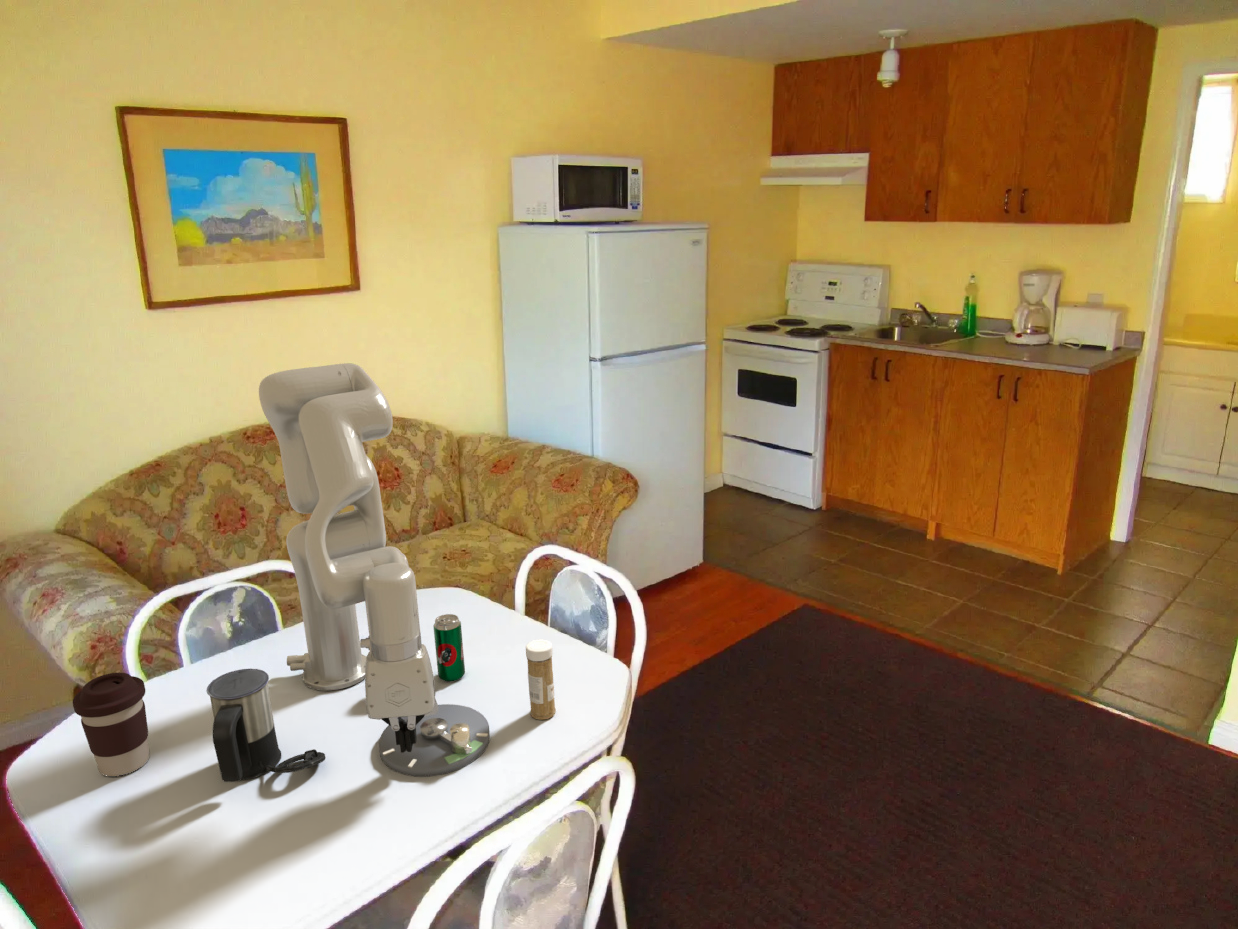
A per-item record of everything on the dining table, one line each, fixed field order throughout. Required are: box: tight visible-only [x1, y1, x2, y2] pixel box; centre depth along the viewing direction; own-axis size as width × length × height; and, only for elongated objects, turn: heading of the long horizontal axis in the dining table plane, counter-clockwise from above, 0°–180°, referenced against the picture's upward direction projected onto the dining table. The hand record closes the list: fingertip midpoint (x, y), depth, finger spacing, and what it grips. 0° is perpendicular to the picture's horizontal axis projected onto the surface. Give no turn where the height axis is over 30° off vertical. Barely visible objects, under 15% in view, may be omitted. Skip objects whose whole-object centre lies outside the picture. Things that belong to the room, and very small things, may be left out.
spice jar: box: [525, 639, 557, 721], centre depth 150 cm, size 5×5×14 cm
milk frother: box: [206, 668, 326, 783], centre depth 137 cm, size 14×16×15 cm
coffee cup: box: [72, 672, 150, 777], centre depth 138 cm, size 10×10×15 cm
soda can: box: [433, 613, 466, 683], centre depth 162 cm, size 5×5×12 cm
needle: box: [420, 718, 472, 754], centre depth 141 cm, size 11×4×4 cm, turn 49°
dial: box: [378, 703, 491, 778], centre depth 144 cm, size 18×18×2 cm
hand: (407, 746), depth 137 cm, fingers closed
